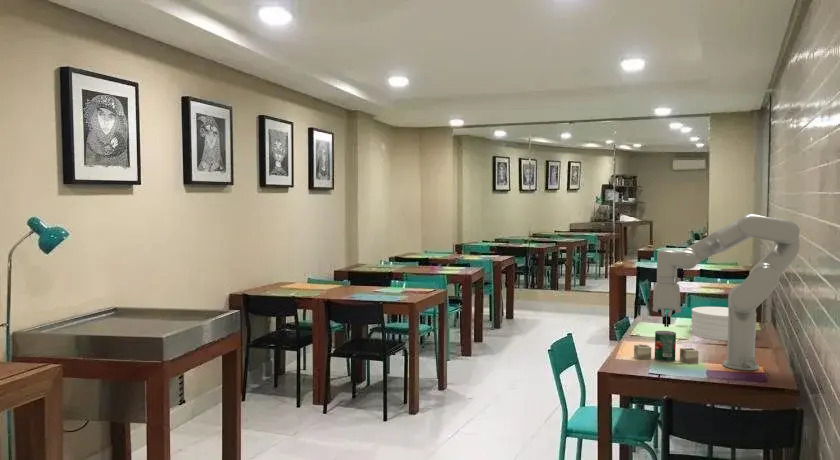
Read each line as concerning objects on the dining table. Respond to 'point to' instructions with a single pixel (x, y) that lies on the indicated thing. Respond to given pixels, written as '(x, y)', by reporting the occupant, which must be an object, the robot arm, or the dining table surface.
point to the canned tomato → (665, 346)
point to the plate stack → (710, 322)
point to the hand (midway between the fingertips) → (666, 326)
